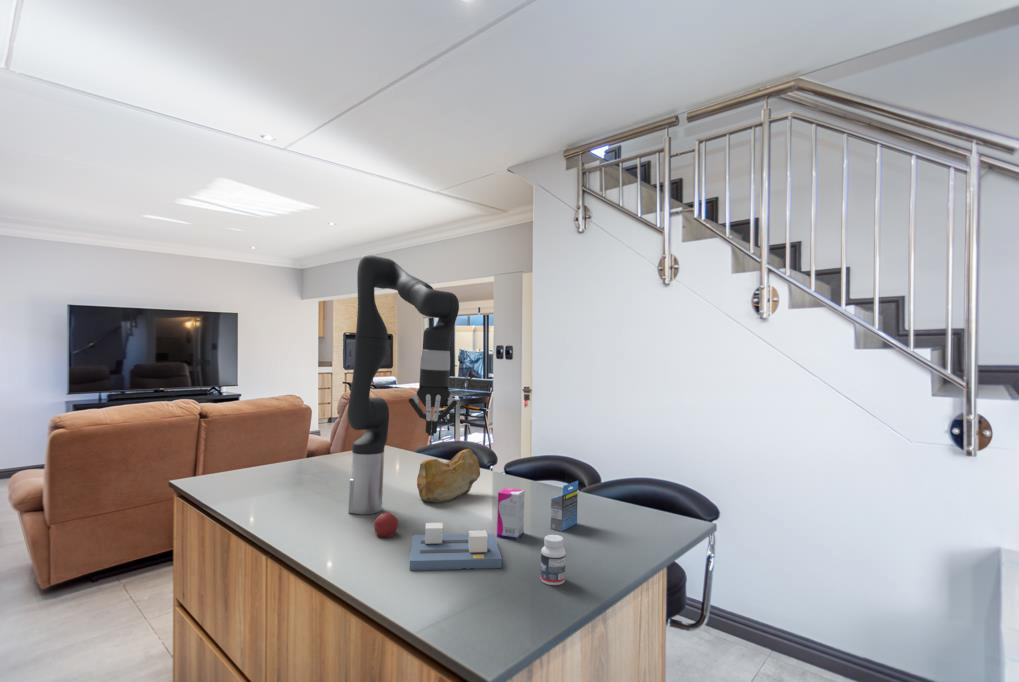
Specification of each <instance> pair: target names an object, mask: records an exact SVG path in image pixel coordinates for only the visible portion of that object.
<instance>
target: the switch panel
mask: <svg viewBox="0 0 1019 682" xmlns="http://www.w3.org/2000/svg"><path fill="white" fill-rule="evenodd" d="M487 536H488V540H487V552H469V547H468V542H469V533H466V534H465V533H463V534H462V533H461V534H459V533H458V534H442V543H432V544H425V534H413V535H412V540H411V541H412V542H411V550H410V558H409V571H429V570H430V571H431V570H432V571H433V570H437V571H438V570H439V571H440V570H463V569H462V568H466V569H467V570H469V569H470V568H474V569H475V568H476V569H502V562H503V561H502V555H501V552H500V549H499V546H498V543H497V540H496V537H495V534H494V533H487ZM466 569H465V570H466ZM474 569H473V570H474Z"/></svg>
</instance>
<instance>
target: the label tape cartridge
mask: <svg viewBox="0 0 1019 682" xmlns="http://www.w3.org/2000/svg"><path fill="white" fill-rule="evenodd" d="M578 489H579V480H576V481H572V482H570V483H567V484H565V485H563V486H562V494H559V495H557V496H555V497H552V498H551V499H550V501H551V502H550V504H551V505H550V529H551V530H553V531H558V532H564V531H565V530H567V529H569V528H571V527H573V526H574V525H577V524H578V497H579V496H578V495H579V493H578Z"/></svg>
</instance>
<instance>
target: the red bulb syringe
mask: <svg viewBox="0 0 1019 682" xmlns="http://www.w3.org/2000/svg"><path fill="white" fill-rule="evenodd" d="M371 522H372V523H373V522H374V526H373V528H374V532H375V533H376V535H377V536H378V537H380V538H389V537H392V536H394V535H395V534H396V533H397V531H398V529H399V520H398V518H397V517H396V516H395V515H394V514H392V513H391V512H384V513H380V514H379V515H377V517H376V519H375V520H373V519H371Z"/></svg>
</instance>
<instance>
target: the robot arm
mask: <svg viewBox="0 0 1019 682" xmlns="http://www.w3.org/2000/svg"><path fill="white" fill-rule="evenodd" d="M357 266H358V267H357V272H356V273H357V281H356V282H357V284H356V285H357V312H356V313H357V315H356V317H357V318H356V330H355V340H354V341H355V342H354V361H353V371H352V372H353V373H352V381H351V386H350V394H349V399H348V406H347V420H348V424H349V426H350V427H351V428H352V429H353V430H355V431H361V430H362V431H363V430H365V431H364V434H362V436H361V437H360V438H358V439H357V440H355V441H354V442H353V443H352V448H351V449H352V450H351V452H352V453H351V473H350V474H351V475H350V479H349V487H348V488H349V489H348V491H349V492H348V511H347V513H348V514H356V515H372V514H373V515H374V514H376V513H380V512H381V511H382V510H383V494H384V493H383V492H384V491H383V490H384V488H383V487H384V467H385V464H384V462H385V446H386V444H387V441H388V434H389V433H388V431H389V421H390V408H389V404H388V403H387V401H386V400H385V399H384V398H382V397H378V396H377V397H374V396H373V397H370V396H371V395H370V394H371V388H372V383H373V380H374V378H375V376H376V374H377V372H378V371H379V369H380V368H381V366H382V365H383V363H384V361H385V358H386V356H387V349H388V339H389V337H388V335H389V334H388V333H389V332H388V329H387V327H386V325H385V322H384V320H383V318H382V315H381V313H380V312H379V310H378V307H377V305H376V297H375V288H377V289H389V290H394V291H397V293H398V295H399V296H400V298H401V299H403V300H404V301H405V302H407V303H409V304H410V305H412V306H414V307H415V309H416V310H417V312H418V313H420V314H421V315H423V316H425V317H429V318H437V322H436V324H435V325H434V326H429V327H426V328H424V331H423V336H422V337H423V338H422V350H421V356H420V357H421V358H420V368H419V369H420V370H419V384H418V389H417V392H416V394H414V395H413V396H411V397H409V398H408V403H409V404H410V406H411V407H412V409H413V410H414V411H415V413H416V414H417V415H418V417H419V418H420V419H423V420H425V433H426V434H427V436H429V437H430V436H431V437H434V435H435V434H437V432H438V422H439V421H440V420H445V419H446V417H447V416H448V415H449V414H450V412H452V410H453V409H454V408H455V406H457V404H458V400H457V399H455V398H453V397H452V396H451V391H450V390H449V388H450V372H451V370H450V369H451V338H452V334H453V330H454V327H455V324H456V320H457V319H458V314H459V311H460V302H459V299H458V297H457V295H456V294H455V293H453V292H449V291H442V290H436V289H434V287H432V286H431V285H430V284H429V283H428V282H425V281H423V280H421V279H420V278H417V277H416V276H413V275H412V274H410V273H408V271H406V270H405V269H404V268H402V266H400V265H399V264H398V263H397V262H396V261H394V260H393V259H390V258H385V257H382V256H376V255H370V254H364V255H363V256H362V257H361V258H360V259H359V261H358V265H357ZM419 401H421V403H422V405H423V406H424V407H425V412H424V411H423V409H422V408H421V406H420V405H419ZM446 402H447V406H446V407H445V409H444V410H443V411H442V412H441V413H439V412H440V408H441V407H443V405H445V403H446ZM432 408H433V415H432ZM432 416H433V417H432Z"/></svg>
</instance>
